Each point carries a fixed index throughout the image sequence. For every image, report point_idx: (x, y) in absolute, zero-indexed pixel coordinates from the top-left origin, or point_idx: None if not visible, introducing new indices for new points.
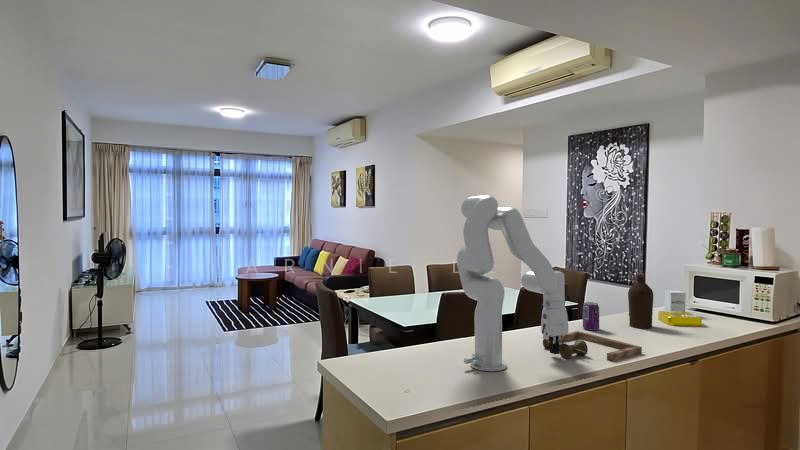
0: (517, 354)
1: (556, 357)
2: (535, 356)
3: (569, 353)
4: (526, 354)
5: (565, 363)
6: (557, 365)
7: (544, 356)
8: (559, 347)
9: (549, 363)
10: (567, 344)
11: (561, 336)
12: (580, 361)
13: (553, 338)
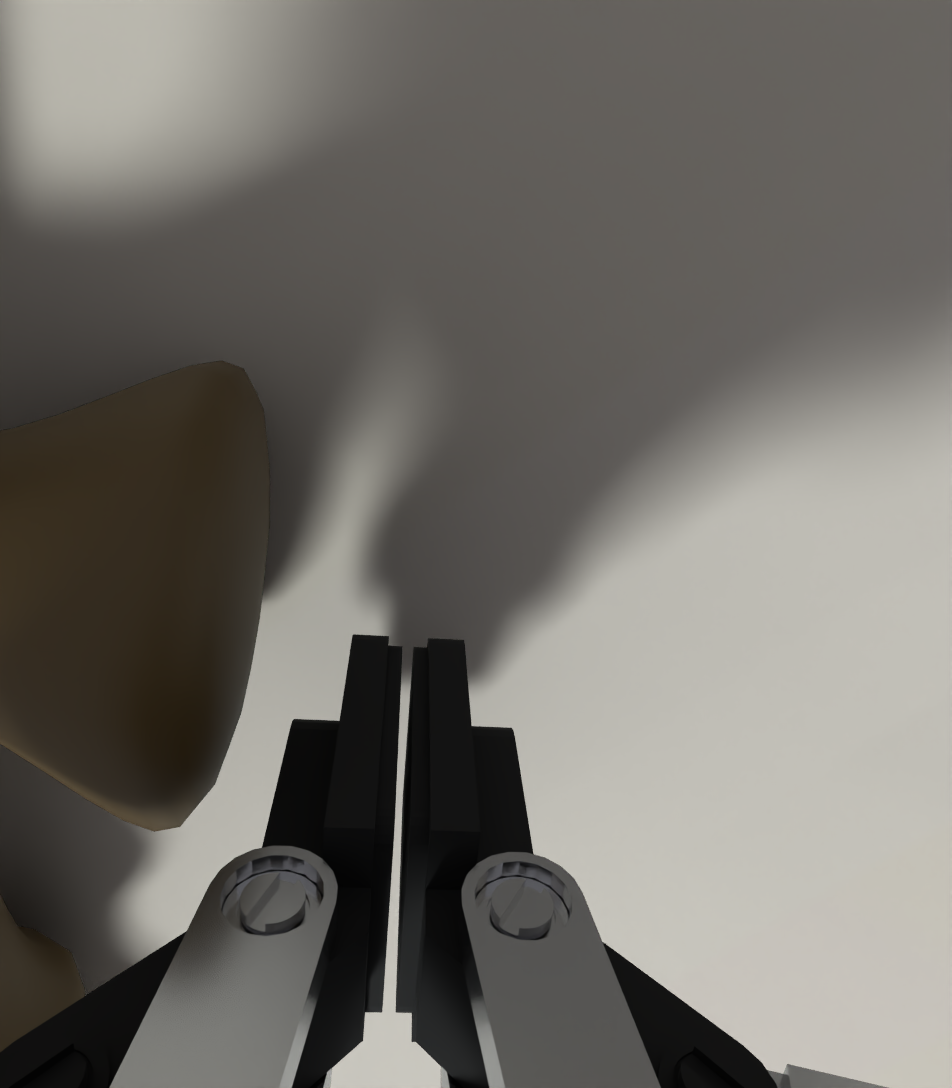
0: (794, 1049)
1: (388, 627)
2: (669, 865)
3: (242, 385)
4: (684, 992)
5: (621, 221)
6: (914, 248)
7: (535, 788)
8: (217, 775)
9: (895, 457)
10: (8, 675)
11: (25, 1082)
12: (123, 56)
13: (637, 1055)
